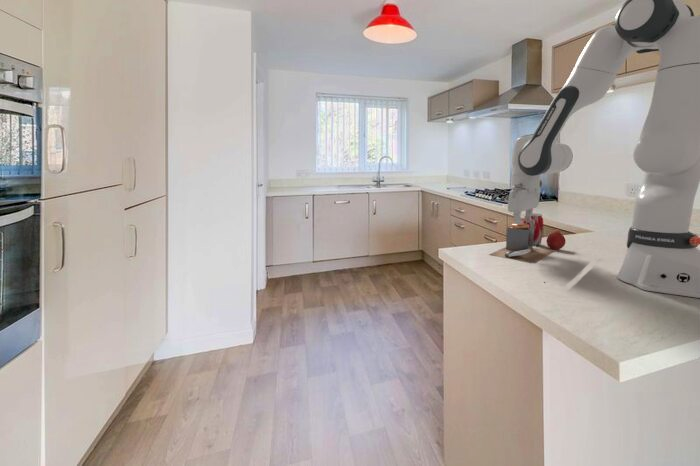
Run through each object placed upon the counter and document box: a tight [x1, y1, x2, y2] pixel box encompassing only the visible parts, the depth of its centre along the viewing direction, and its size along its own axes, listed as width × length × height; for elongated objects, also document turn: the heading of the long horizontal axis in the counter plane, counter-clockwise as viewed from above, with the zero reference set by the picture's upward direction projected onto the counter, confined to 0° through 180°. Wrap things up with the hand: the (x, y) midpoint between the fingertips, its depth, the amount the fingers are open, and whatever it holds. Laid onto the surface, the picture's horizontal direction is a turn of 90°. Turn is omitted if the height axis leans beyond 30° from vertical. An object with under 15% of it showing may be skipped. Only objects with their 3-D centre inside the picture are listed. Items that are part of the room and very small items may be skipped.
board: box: [488, 246, 555, 264], centre depth 119 cm, size 15×20×1 cm
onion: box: [546, 229, 567, 251], centre depth 124 cm, size 6×6×8 cm
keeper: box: [505, 249, 531, 257], centre depth 114 cm, size 7×5×1 cm
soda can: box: [522, 212, 544, 246], centre depth 135 cm, size 7×7×12 cm
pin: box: [510, 222, 529, 229], centre depth 124 cm, size 6×6×9 cm
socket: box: [505, 226, 534, 251], centre depth 123 cm, size 7×6×8 cm
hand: (522, 222), depth 122 cm, fingers open, 8 cm apart
